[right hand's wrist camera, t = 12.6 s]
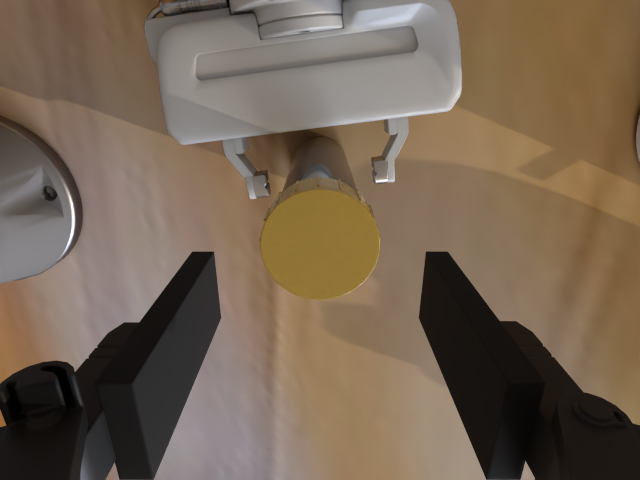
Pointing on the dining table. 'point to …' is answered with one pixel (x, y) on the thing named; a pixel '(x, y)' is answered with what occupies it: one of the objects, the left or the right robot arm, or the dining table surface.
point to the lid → (319, 239)
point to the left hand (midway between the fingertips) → (321, 189)
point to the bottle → (319, 162)
